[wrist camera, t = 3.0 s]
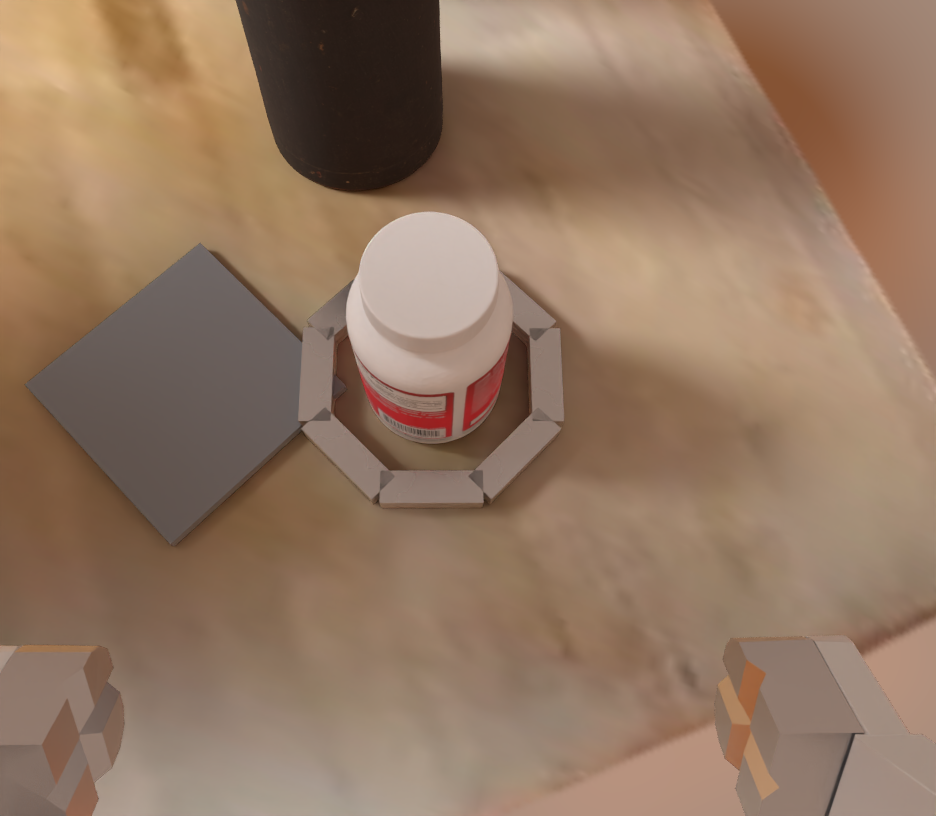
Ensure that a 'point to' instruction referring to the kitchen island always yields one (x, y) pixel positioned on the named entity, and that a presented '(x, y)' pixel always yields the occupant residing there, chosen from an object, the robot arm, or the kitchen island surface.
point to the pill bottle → (430, 326)
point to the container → (349, 85)
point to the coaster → (180, 392)
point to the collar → (432, 484)
